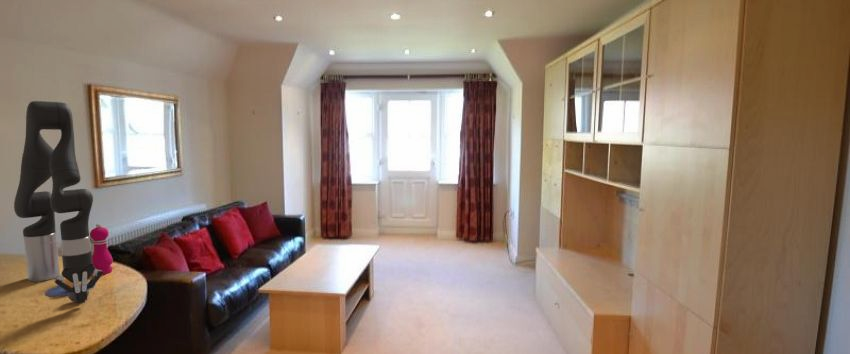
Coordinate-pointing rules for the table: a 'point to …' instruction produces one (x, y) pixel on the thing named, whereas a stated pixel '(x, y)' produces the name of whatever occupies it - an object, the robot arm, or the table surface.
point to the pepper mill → (101, 249)
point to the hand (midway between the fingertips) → (81, 302)
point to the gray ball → (72, 295)
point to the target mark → (58, 291)
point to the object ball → (70, 283)
